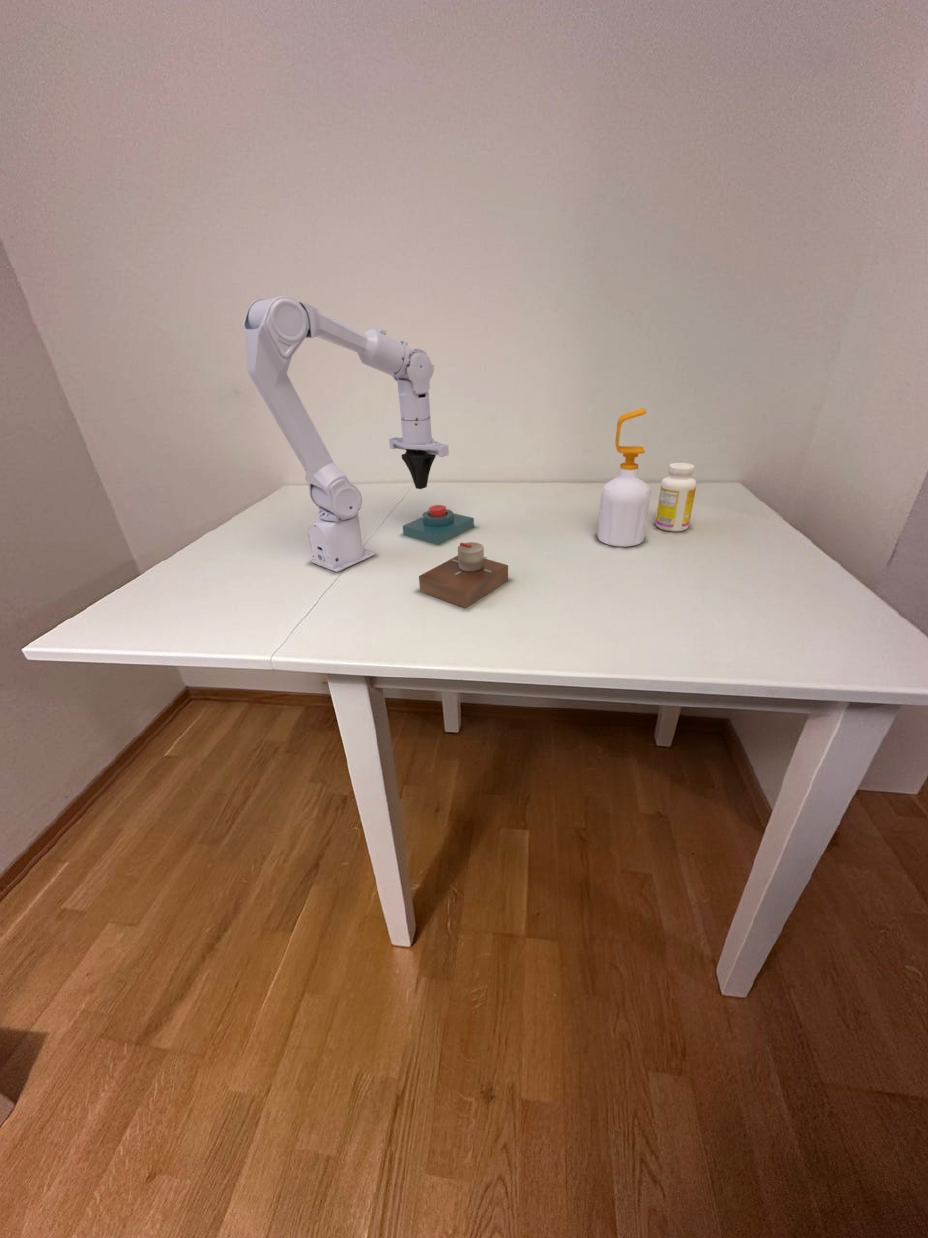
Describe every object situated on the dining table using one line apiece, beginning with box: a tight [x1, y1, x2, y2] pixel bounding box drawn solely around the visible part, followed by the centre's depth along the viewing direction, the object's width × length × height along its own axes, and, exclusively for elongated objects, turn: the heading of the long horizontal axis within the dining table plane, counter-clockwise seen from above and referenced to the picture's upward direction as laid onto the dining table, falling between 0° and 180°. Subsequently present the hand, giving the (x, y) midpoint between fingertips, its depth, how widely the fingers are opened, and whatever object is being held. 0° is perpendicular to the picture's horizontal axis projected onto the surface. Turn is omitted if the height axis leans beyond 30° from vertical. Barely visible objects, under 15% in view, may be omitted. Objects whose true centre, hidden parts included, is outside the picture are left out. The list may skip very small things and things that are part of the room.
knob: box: [457, 542, 485, 571], centre depth 87 cm, size 4×4×4 cm
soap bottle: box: [596, 407, 652, 548], centre depth 97 cm, size 9×9×25 cm
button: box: [428, 504, 447, 517], centre depth 109 cm, size 4×4×2 cm
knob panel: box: [418, 555, 509, 609], centre depth 88 cm, size 12×10×3 cm
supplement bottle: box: [655, 462, 698, 532], centre depth 104 cm, size 7×7×13 cm
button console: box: [402, 508, 475, 546], centre depth 110 cm, size 12×10×4 cm
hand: (421, 487), depth 106 cm, fingers closed
